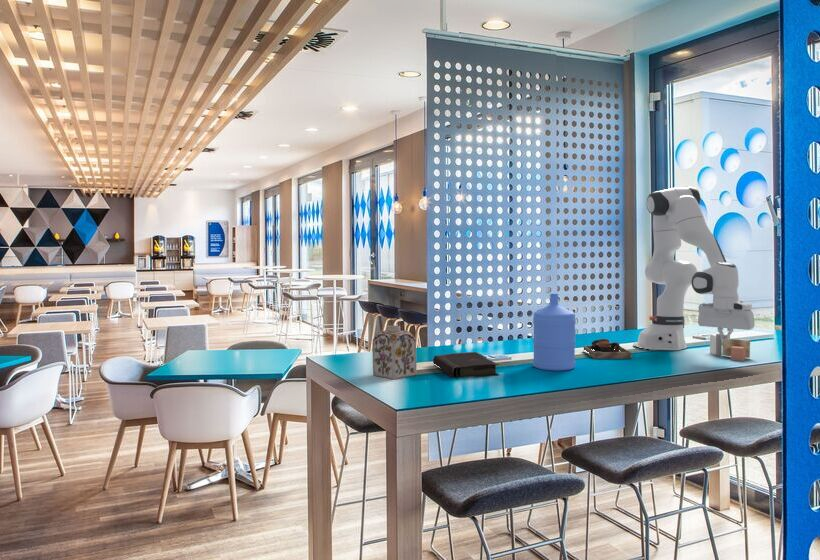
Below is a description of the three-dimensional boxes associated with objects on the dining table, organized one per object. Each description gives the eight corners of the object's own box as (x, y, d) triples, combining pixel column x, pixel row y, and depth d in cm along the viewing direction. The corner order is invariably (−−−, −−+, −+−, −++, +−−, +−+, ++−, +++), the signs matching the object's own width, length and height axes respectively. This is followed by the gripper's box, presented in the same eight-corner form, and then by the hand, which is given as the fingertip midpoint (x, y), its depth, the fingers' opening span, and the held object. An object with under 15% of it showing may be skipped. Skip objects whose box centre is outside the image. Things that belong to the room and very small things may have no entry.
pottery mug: (590, 359, 260) (587, 340, 264) (595, 365, 268) (592, 347, 272) (620, 353, 256) (616, 334, 260) (624, 359, 263) (620, 341, 267)
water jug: (576, 371, 232) (576, 295, 231) (532, 370, 235) (532, 295, 234) (574, 363, 247) (574, 292, 246) (533, 362, 251) (533, 292, 249)
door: (722, 355, 260) (722, 338, 260) (723, 354, 262) (724, 337, 261) (749, 357, 254) (749, 340, 253) (750, 357, 255) (750, 339, 255)
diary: (451, 380, 223) (451, 366, 223) (433, 367, 248) (432, 354, 247) (501, 376, 228) (501, 362, 227) (478, 364, 252) (477, 351, 252)
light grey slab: (717, 356, 261) (717, 334, 260) (709, 352, 269) (709, 331, 268) (721, 356, 261) (721, 334, 260) (713, 352, 269) (713, 331, 268)
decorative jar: (371, 375, 230) (371, 326, 229) (395, 370, 238) (394, 323, 237) (394, 380, 221) (393, 329, 220) (417, 375, 229) (417, 325, 228)
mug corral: (593, 358, 258) (593, 352, 258) (583, 351, 275) (583, 345, 275) (631, 358, 257) (631, 352, 257) (619, 351, 275) (619, 345, 274)
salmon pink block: (742, 360, 250) (743, 348, 250) (730, 359, 253) (731, 347, 253) (745, 359, 253) (745, 346, 253) (733, 358, 256) (733, 345, 256)
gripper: (695, 303, 251) (694, 337, 252) (749, 306, 236) (749, 343, 237) (702, 302, 255) (702, 336, 256) (756, 304, 240) (756, 341, 241)
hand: (725, 339), depth 246 cm, fingers closed
